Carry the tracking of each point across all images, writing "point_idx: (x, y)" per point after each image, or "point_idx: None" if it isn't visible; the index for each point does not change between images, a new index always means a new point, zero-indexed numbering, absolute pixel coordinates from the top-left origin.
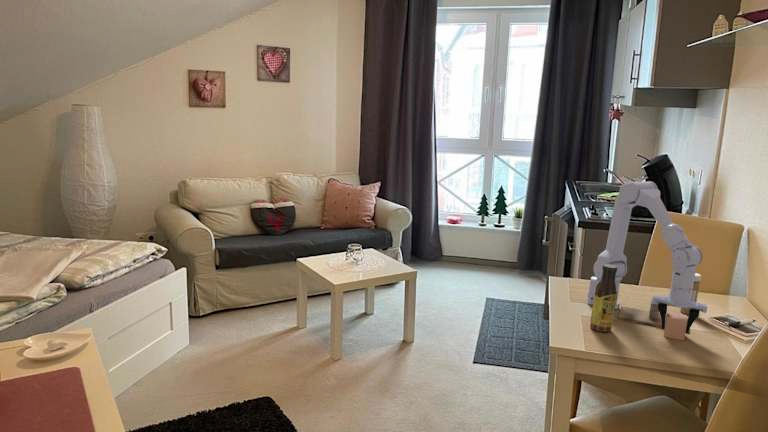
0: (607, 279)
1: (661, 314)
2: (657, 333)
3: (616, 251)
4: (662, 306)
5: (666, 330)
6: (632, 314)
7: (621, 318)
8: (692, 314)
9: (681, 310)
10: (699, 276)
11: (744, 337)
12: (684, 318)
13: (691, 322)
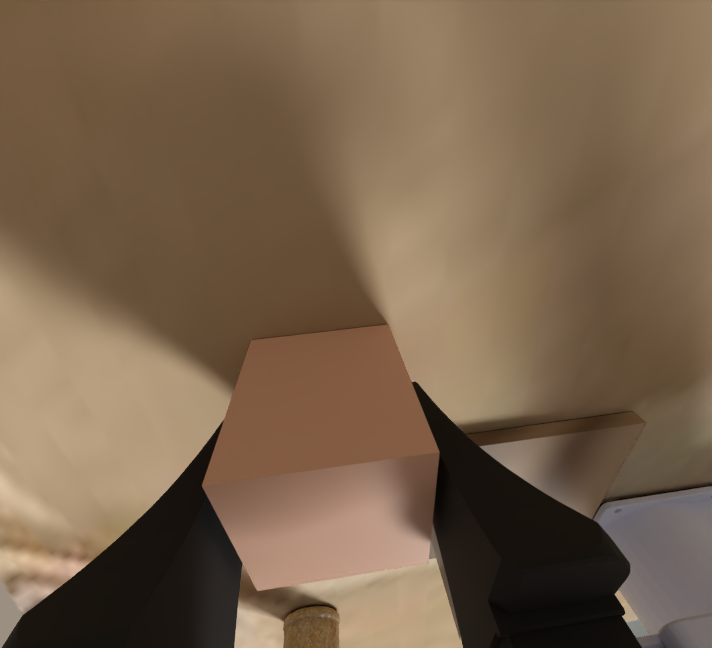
0: None
1: (503, 476)
2: (429, 351)
3: None
4: (558, 611)
5: (387, 354)
6: (552, 489)
7: (623, 420)
8: (83, 635)
9: (333, 617)
10: None
11: (9, 564)
12: (255, 529)
13: (172, 498)
